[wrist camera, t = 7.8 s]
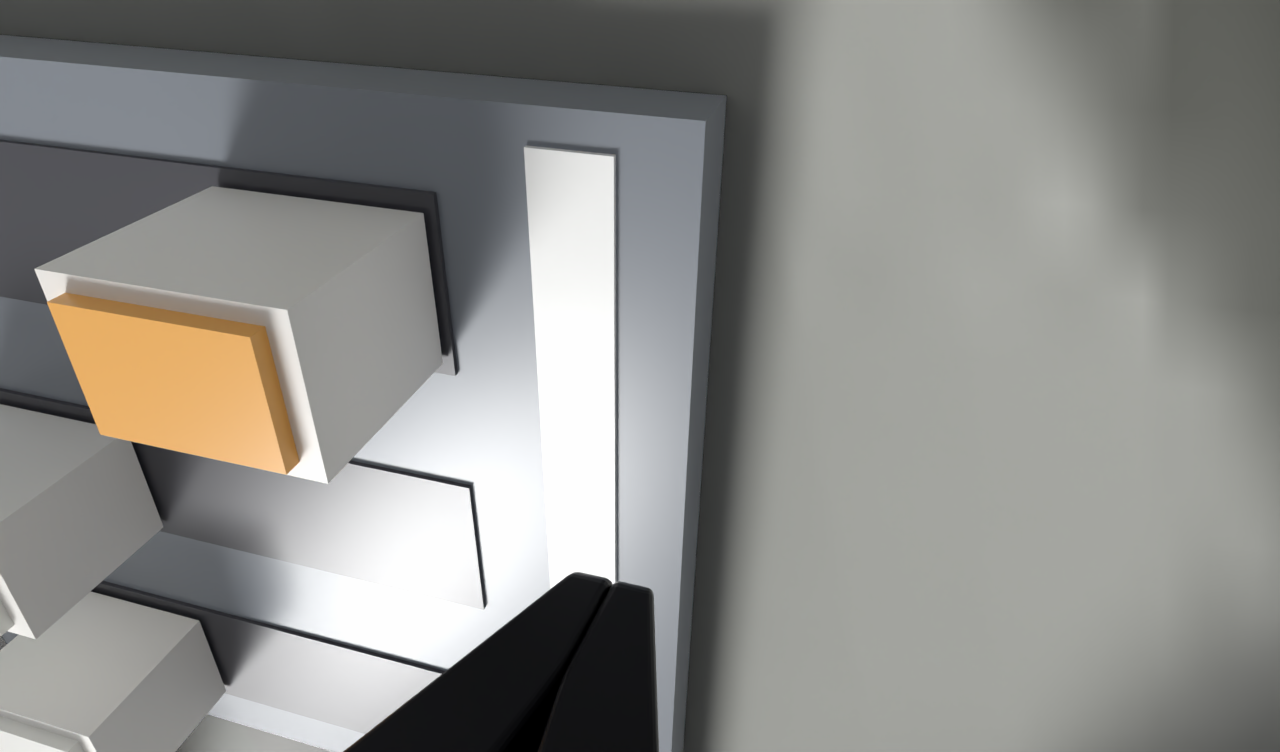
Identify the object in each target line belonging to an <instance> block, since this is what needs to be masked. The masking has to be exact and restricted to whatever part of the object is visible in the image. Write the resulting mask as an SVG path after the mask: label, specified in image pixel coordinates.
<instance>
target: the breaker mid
mask: <svg viewBox="0 0 1280 752" xmlns="http://www.w3.org/2000/svg"><path fill="white" fill-rule="evenodd" d="M162 528H163V524H162V521H161V519H160V516H159V514H158V511H157V508H156V506H155V503H154V500H153V498H152V495H151V493H150V490H149V487H148V485H147V482H146V480H145V477H144V474H143V472H142V469H141V466H140V464H139V461H138V459H137V456H136V453H135V451H134V448H133V445H132V443H131V441H127V440H122V439H118V438H113V437H108V436H104V435H100V433H99V430H98V428H97V425H96V424H92V423H87V422H82V421H77V420H73V419H68V418H63V417H59V416H54V415H49V414H44V413H40V412H35V411H30V410H26V409H21V408H16V407H11V406H7V405H2V404H0V636H2V635H3V634H4V633H6V632H7V631H8V632H12V633H15V634H19V635H22V636H26V637H29V638H33V639H37V638H38V637H39V636H40V635H42V634H43V633H44V632H45V631H46V630H47V629H48V628H50V627H51V626H52V625H53V624H54V623H55V622H56V621H57V620H59V619H60V618H61V617H62V616H63V615H64V614H65V613H67V612H68V611H69V610H70V609H71V608H72V607H73V606H74V605H76V604H77V603H78V602H79V601H80V600H81V599H82V598H84V597H85V596H86V595H87V594H88V593H89V592H90V591H92V590H93V589H94V588H95V587H96V586H97V585H98V584H99V583H101V582H102V581H103V580H104V579H105V578H106V577H107V576H109V575H110V574H111V573H112V572H113V571H114V570H115V569H117V568H118V567H119V566H120V565H121V564H122V563H123V562H124V561H126V560H127V559H128V558H129V557H130V556H131V555H132V554H134V553H135V552H136V551H137V550H138V549H139V548H140V547H141V546H143V545H144V544H145V543H146V542H147V541H148V540H149V539H151V538H152V537H153V536H154V535H155V534H156V533H157V532H159V531H160V530H161V529H162Z"/></svg>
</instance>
